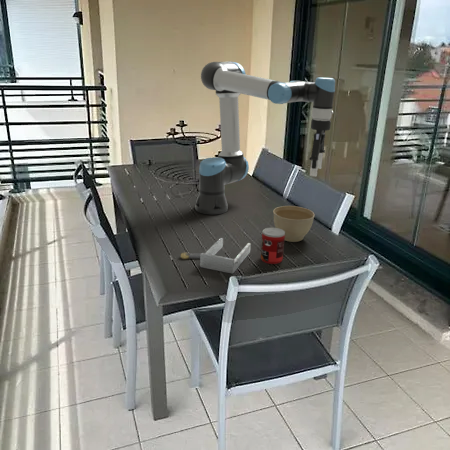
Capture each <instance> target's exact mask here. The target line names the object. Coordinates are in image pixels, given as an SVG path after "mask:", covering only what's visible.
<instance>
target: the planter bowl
mask: <svg viewBox="0 0 450 450" xmlns="http://www.w3.org/2000/svg"><path fill="white" fill-rule="evenodd" d="M272 213H273V224H274V228H279V229H282V230H283V231H284V232H285V240H284V242H285V241H287V242H291V243H297V242H300V241H303V240H304V238H305V236H306V235H307V234H308V233H309V231H311V228H312V226H313V223H314V218H315V213H314V211H312V210H311V209H308V208H305V207H301V206H296V205H283V206H282V205H281V206H278V207H275V208H274V209H273V212H272Z"/></svg>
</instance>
